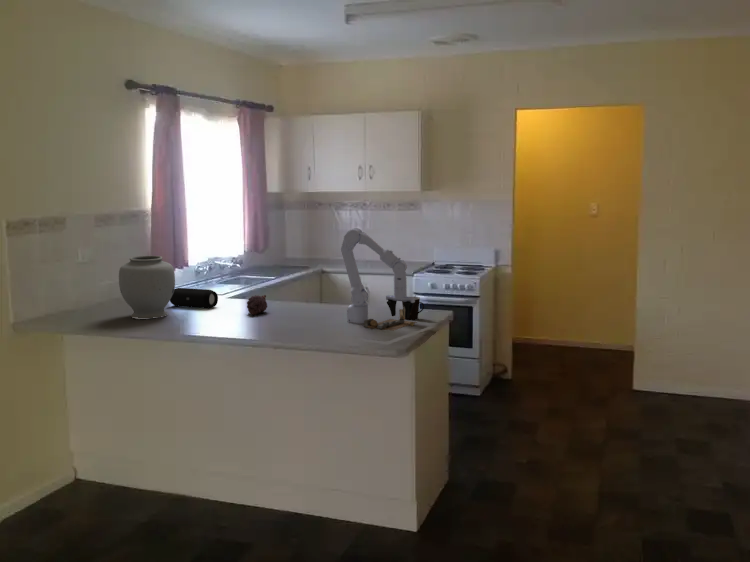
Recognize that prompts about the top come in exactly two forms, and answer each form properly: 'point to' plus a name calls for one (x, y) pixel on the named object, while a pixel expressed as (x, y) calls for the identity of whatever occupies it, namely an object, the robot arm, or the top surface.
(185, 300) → the portable speaker
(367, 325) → the board
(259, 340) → the top surface
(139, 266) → the grey ceramic vase
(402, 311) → the lever
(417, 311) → the coffee mug
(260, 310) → the pine cone
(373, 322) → the walnut
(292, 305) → the top surface
